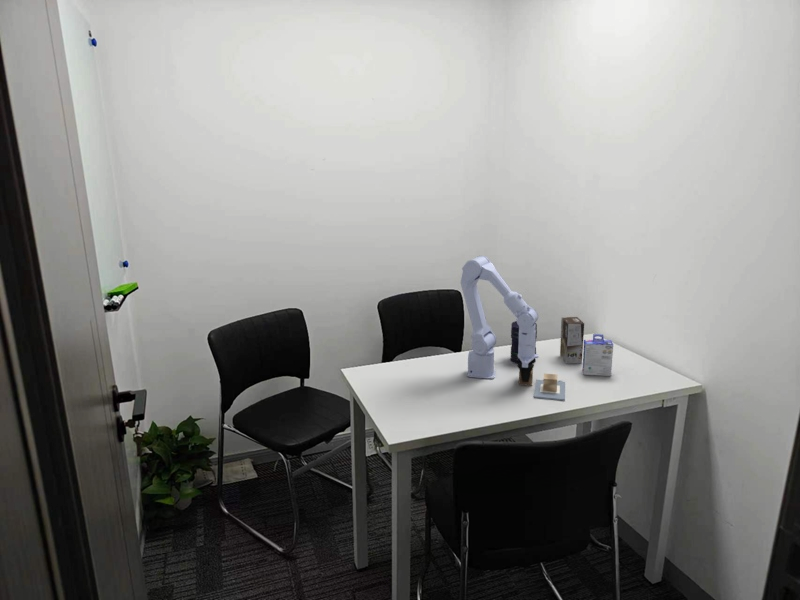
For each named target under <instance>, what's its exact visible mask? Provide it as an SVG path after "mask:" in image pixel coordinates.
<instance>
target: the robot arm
mask: <svg viewBox="0 0 800 600" xmlns="http://www.w3.org/2000/svg"><path fill="white" fill-rule="evenodd" d="M461 269H462V273H461V278H460V285H461V290H462V293H463V298H464V300H465V304H466V309H467V311H468V315H469V319H470V322H471V326H472V332H471V349H472V350H469V351H468V355H467V377H468V378H476V379H477V378H478V379H488V380H491V379H492V380H494V378H495V376H496V372H497V370H496V369H495V350H494V347H495V346H496V345H497V342H498V341H497V337H496V334H495V333H494V332H493V330H492V327H491V326H490V325H488V321H487V320H486V315H485V311H484V308H483V303H482V300H481V297H480V292H479V290H478V285H477V283H479V280H481V281H488V282H489V283H490V284H491V285H492V286H493V288H494V289H496V290H497V292H499V294H500V295H501V296H503V304H505V306H506V307H507V308H508V310H509V311H510V312H511V313H512V314H513V315H514V317H516V321H517V324H518V325H519V347H518V358H519V359H520V362H518V363H517V364H516V365H517V367H518V370H519V371H520V373H521V378H522V382H529V378H530V373H531V371H532V369H533V370H534V367H535V363H533V362H534V360H535V359H538V358H539V354H537V353H536V354H535V339H536V340H537V337H536V324H537V322H538V319H539V313H538V312H537V310H536V308H533V307H531V305H528V304H527V302H526V301H525V300H524V299H523V295H522V294H521V293H518V292H517V291H513V290H511V288H510V287H509V286H508V284H507V283H506V281H505V280H504V279H503V278H502V276H501V274H499V272H498V270H497V269H496V267H495V265H494V264H493V263H492V262H491V261H490V259H489V258H488V257H487V256H486V255H479V256H477V257H475V258H473V259H470V260H468V261H466V262H465V264H463V266H462V268H461ZM534 323H536V324H534Z"/></svg>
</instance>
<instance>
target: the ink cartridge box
mask: <svg viewBox="0 0 800 600" xmlns="http://www.w3.org/2000/svg"><path fill="white" fill-rule="evenodd" d="M597 337H600V338H597ZM613 352H614V343H613V341H612V340H611V339H605V338H604V334H598V333H597V334H595V333H594V334H592V339H583V353H582V369H581V370H582V374H583V375H585V376H603V377H605V376H606V377H612V368H613V355H614V354H613Z"/></svg>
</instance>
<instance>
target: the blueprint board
mask: <svg viewBox="0 0 800 600" xmlns="http://www.w3.org/2000/svg"><path fill="white" fill-rule="evenodd" d="M543 380H544V379H536V380H535V386H534V394H533V398H534V399H540V400H541V399H542V400H553V401H561V402H562V401H563V402H564V401H566V381H559V380H557V392H550V391H543Z"/></svg>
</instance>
